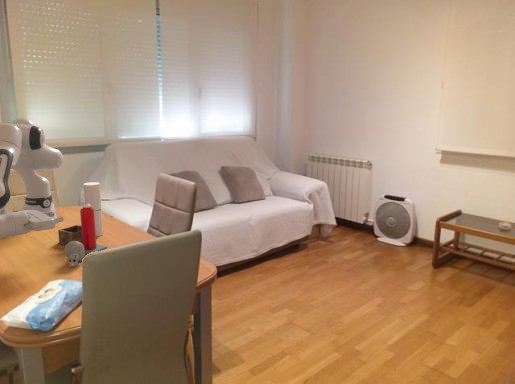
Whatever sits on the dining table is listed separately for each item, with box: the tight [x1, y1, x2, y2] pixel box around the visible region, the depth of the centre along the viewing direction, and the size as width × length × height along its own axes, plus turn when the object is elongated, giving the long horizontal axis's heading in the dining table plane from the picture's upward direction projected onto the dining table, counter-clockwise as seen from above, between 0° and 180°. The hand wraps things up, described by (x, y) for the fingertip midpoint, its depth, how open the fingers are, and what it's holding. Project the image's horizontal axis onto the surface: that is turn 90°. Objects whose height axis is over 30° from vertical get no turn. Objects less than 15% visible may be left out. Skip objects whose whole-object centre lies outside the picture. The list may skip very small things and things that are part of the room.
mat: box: [84, 243, 108, 256], centre depth 175 cm, size 10×10×1 cm
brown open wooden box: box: [57, 224, 83, 246], centre depth 184 cm, size 10×10×6 cm
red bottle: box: [79, 202, 97, 250], centre depth 173 cm, size 5×5×20 cm
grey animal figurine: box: [64, 241, 86, 269], centre depth 159 cm, size 7×12×8 cm, turn 13°
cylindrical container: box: [83, 181, 104, 238], centre depth 192 cm, size 7×7×25 cm
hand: (58, 216), depth 163 cm, fingers open, 8 cm apart
